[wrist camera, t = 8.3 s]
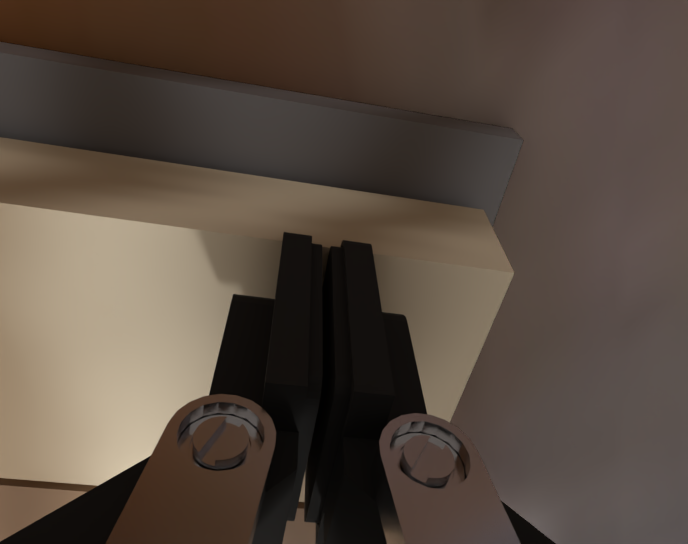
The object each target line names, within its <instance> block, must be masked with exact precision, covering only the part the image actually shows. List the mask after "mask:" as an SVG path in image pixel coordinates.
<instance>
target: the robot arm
mask: <svg viewBox="0 0 688 544" xmlns="http://www.w3.org/2000/svg"><path fill="white" fill-rule="evenodd" d="M304 474H305V501H304V521H305V522H310V523H316V542H315V544H555V543H554V542H553V541H551V540H550V539H549V538H548V537H546V536H545V535H544V534H543V533H541V532H540V531H539V530H537V529H536V528H535V527H534V526H532V525H531V524H530V523H529V522H527V521H526V520H525V519H524V518H522V517H521V516H520V515H519V514H517V513H516V512H515V511H513V510H512V509H511V508H510V507H508V506H507V505H506V504H505V503H503V502H502V501H501V500H500V498H499V496H498V494H497V491H496V489H495V487H494V485H493V483H492V481H491V479H490V476H489V474H488V472H487V470H486V468H485V466H484V463H483V461H482V459H481V457H480V455H479V453H478V451H477V449H476V448H475V446H474V444H473V443H472V441H471V440H470V438H469V437H467V436H466V435H465V434H464V433H463V432H462V431H461V430H460V429H459V428H458V427H456V426H454V425H453V424H451V423H449V422H448V421H446V420H444V419H441V418H438V417H435V416H433V415H429V414H427V411H426V406H425V401H424V397H423V392H422V387H421V383H420V378H419V373H418V369H417V364H416V360H415V355H414V350H413V346H412V341H411V336H410V332H409V327H408V322H407V319H406V316H404V315H403V314H395V313H386V312H382V308H381V301H380V295H379V288H378V282H377V276H376V269H375V263H374V256H373V250H372V245H371V244H369V243H361V242H354V241H347V240H343V241H342V243H341V247H336V246H331V247H330V250H329V255H328V261H327V266H326V271H325V277H324V282H323V287H322V245H321V244H314V243H312V236H310V235H303V234H296V233H288V232H284V233H283V241H282V248H281V256H280V263H279V271H278V278H277V286H276V293H275V299H271V298H263V297H255V296H247V295H239V294H234V295H233V297H232V300H231V304H230V309H229V313H228V317H227V321H226V325H225V330H224V334H223V338H222V342H221V346H220V350H219V355H218V359H217V363H216V367H215V371H214V376H213V380H212V384H211V388H210V392H209V396H203V397H201V398H198V399H196V400H193V401H190V402H189V403H187V404H186V405H184V406H183V407H182V408H180V409H179V410H177V411H176V413H175V414H174V415H173V417H172V418H171V419H170V421H169V422H168V424H167V426H166V427H165V429H164V431H163V433H162V435H161V437H160V439H159V441H158V443H157V445H156V447H155V449H154V451H153V453H152V455H151V456H149V457H148V458H146V459H144V460H142V461H141V462H139V463H137V464H135V465H134V466H132V467H130V468H128V469H127V470H125V471H123V472H121V473H119V474H118V475H116V476H114V477H112V478H111V479H109V480H107V481H105V482H104V483H102V484H100V485H98V486H97V487H95V488H93V489H91V490H90V491H88V492H86V493H84V494H83V495H81V496H79V497H77V498H76V499H74V500H72V501H70V502H69V503H67V504H65V505H63V506H62V507H60V508H58V509H56V510H55V511H53V512H51V513H49V514H48V515H46V516H44V517H42V518H41V519H39V520H37V521H35V522H34V523H32V524H30V525H28V526H27V527H25V528H23V529H21V530H20V531H18V532H16V533H14V534H13V535H11V536H9V537H7V538H6V539H4V540H2V541H0V544H282V543H283V538H284V533H285V528H286V523H287V521H295V516H296V512H297V507H298V502H299V498H300V493H301V488H302V484H303V479H304Z"/></svg>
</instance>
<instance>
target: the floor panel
mask: <svg viewBox="0 0 688 544" xmlns="http://www.w3.org/2000/svg"><path fill="white" fill-rule="evenodd" d="M0 137H2V138H9V139H16V140H22V141H29V142H36V143H42V144H49V145H56V146H62V147H69V148H76V149H82V150H89V151H96V152H102V153H109V154H116V155H122V156H129V157H136V158H142V159H149V160H156V161H162V162H169V163H176V164H182V165H189V166H196V167H202V168H209V169H216V170H222V171H229V172H236V173H242V174H249V175H256V176H262V177H269V178H276V179H282V180H289V181H296V182H302V183H309V184H316V185H322V186H329V187H336V188H342V189H349V190H356V191H362V192H369V193H376V194H382V195H389V196H396V197H402V198H409V199H416V200H422V201H429V202H436V203H442V204H449V205H456V206H462V207H469V208H476V209H482V210H484V211H485V213H486V215H487V217H488V220H489V222H490V224H491V226H492V227H493V224H494V221H495V218H496V215H497V213H498V210H499V207H500V204H501V202H502V199H503V196H504V193H505V190H506V188H507V185H508V182H509V179H510V176H511V174H512V171H513V168H514V165H515V163H516V160H517V157H518V154H519V151H520V149H521V146H522V143H523V139H522V138H521V137H520V136H519V135H518V134H517V133H516V132H515V131H514V130H513V129H511V128H505V127H499V126H493V125H487V124H482V123H476V122H470V121H464V120H458V119H452V118H446V117H440V116H434V115H429V114H423V113H417V112H411V111H405V110H399V109H393V108H387V107H381V106H376V105H370V104H364V103H358V102H352V101H346V100H340V99H334V98H328V97H322V96H317V95H311V94H305V93H299V92H293V91H287V90H281V89H275V88H269V87H264V86H258V85H252V84H246V83H240V82H234V81H228V80H222V79H216V78H211V77H205V76H199V75H193V74H187V73H181V72H175V71H169V70H163V69H158V68H152V67H146V66H140V65H134V64H128V63H122V62H116V61H110V60H105V59H99V58H93V57H87V56H81V55H75V54H69V53H63V52H57V51H52V50H46V49H40V48H34V47H28V46H22V45H16V44H10V43H4V42H0ZM95 487H97V486H96V485H83V484H71V483H58V482H45V481H33V480H20V479H8V478H0V541H2V540H4V539H6V538H7V537H9V536H11V535H13V534H14V533H16V532H18V531H20V530H21V529H23V528H25V527H27V526H28V525H30V524H32V523H34V522H35V521H37V520H39V519H41V518H42V517H44V516H46V515H48V514H49V513H51V512H53V511H55V510H56V509H58V508H60V507H62V506H63V505H65V504H67V503H69V502H70V501H72V500H74V499H76V498H77V497H79V496H81V495H83V494H84V493H86V492H88V491H90V490H91V489H93V488H95ZM315 542H316V523H310V522H305V521H304V502H298V507H297V512H296V516H295V521H287V523H286V528H285V533H284V538H283V543H282V544H315Z"/></svg>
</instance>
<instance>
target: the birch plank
mask: <svg viewBox="0 0 688 544" xmlns="http://www.w3.org/2000/svg"><path fill="white" fill-rule="evenodd" d="M284 232H288V233H296V234H303V235H310V236H312V243H314V244H321V245H322V287H323V282H324V277H325V271H326V266H327V261H328V255H329V250H330V247H331V246H336V247H341V243H342V241H343V240H347V241H354V242H361V243H369V244H371V245H372V250H373V256H374V263H375V269H376V276H377V282H378V288H379V295H380V301H381V308H382V312H386V313H395V314H403V315H404V316H406V319H407V322H408V327H409V332H410V336H411V341H412V346H413V350H414V355H415V360H416V364H417V369H418V373H419V378H420V383H421V387H422V392H423V397H424V401H425V406H426V411H427V414H429V415H433V416H435V417H438V418H441V419H444V420H446V421H448V422H449V423H450V421H451V418H452V416H453V414H454V412H455V409H456V407H457V405H458V402H459V400H460V398H461V395H462V393H463V391H464V388H465V386H466V384H467V382H468V379H469V377H470V375H471V372H472V370H473V368H474V365H475V363H476V361H477V358H478V356H479V354H480V352H481V349H482V347H483V345H484V342H485V340H486V338H487V335H488V333H489V331H490V328H491V326H492V324H493V322H494V319H495V317H496V315H497V312H498V310H499V308H500V305H501V303H502V301H503V298H504V296H505V294H506V292H507V289H508V287H509V285H510V282H511V280H512V278H513V275H514V271H513V269H512V267H511V265H510V263H509V260H508V258H507V256H506V254H505V252H504V250H503V248H502V246H501V244H500V242H499V240H498V238H497V236H496V234H495V232H494V230H493V228H492V226H491V224H490V222H489V220H488V217H487V215H486V213H485V211H484V210H482V209H476V208H469V207H462V206H456V205H449V204H442V203H436V202H429V201H422V200H416V199H409V198H402V197H396V196H389V195H382V194H376V193H369V192H362V191H356V190H349V189H342V188H336V187H329V186H322V185H316V184H309V183H302V182H296V181H289V180H282V179H276V178H269V177H262V176H256V175H249V174H242V173H236V172H229V171H222V170H216V169H209V168H202V167H196V166H189V165H182V164H176V163H169V162H162V161H156V160H149V159H142V158H136V157H129V156H122V155H116V154H109V153H102V152H96V151H89V150H82V149H76V148H69V147H62V146H56V145H49V144H42V143H36V142H29V141H22V140H16V139H9V138H2V137H0V478H8V479H20V480H33V481H45V482H58V483H71V484H83V485H96V486H98V485H100V484H102V483H104V482H105V481H107V480H109V479H111V478H112V477H114V476H116V475H118V474H119V473H121V472H123V471H125V470H127V469H128V468H130V467H132V466H134V465H135V464H137V463H139V462H141V461H142V460H144V459H146V458H148V457H149V456H151V455H152V453H153V451H154V449H155V447H156V445H157V443H158V441H159V439H160V437H161V435H162V433H163V431H164V429H165V427H166V426H167V424H168V422H169V421H170V419H171V418H172V417H173V415H174V414H175V413H176V411H177V410H179V409H180V408H182V407H183V406H184V405H186V404H187V403H189V402H190V401H193V400H196V399H198V398H201V397H203V396H209V392H210V388H211V384H212V380H213V376H214V371H215V367H216V363H217V359H218V355H219V350H220V346H221V342H222V338H223V334H224V330H225V325H226V321H227V317H228V313H229V309H230V304H231V300H232V297H233V295H234V294H239V295H247V296H255V297H263V298H271V299H275V293H276V286H277V278H278V271H279V263H280V256H281V248H282V241H283V233H284ZM304 501H305V474H304V479H303V484H302V488H301V493H300V498H299V502H304Z"/></svg>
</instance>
